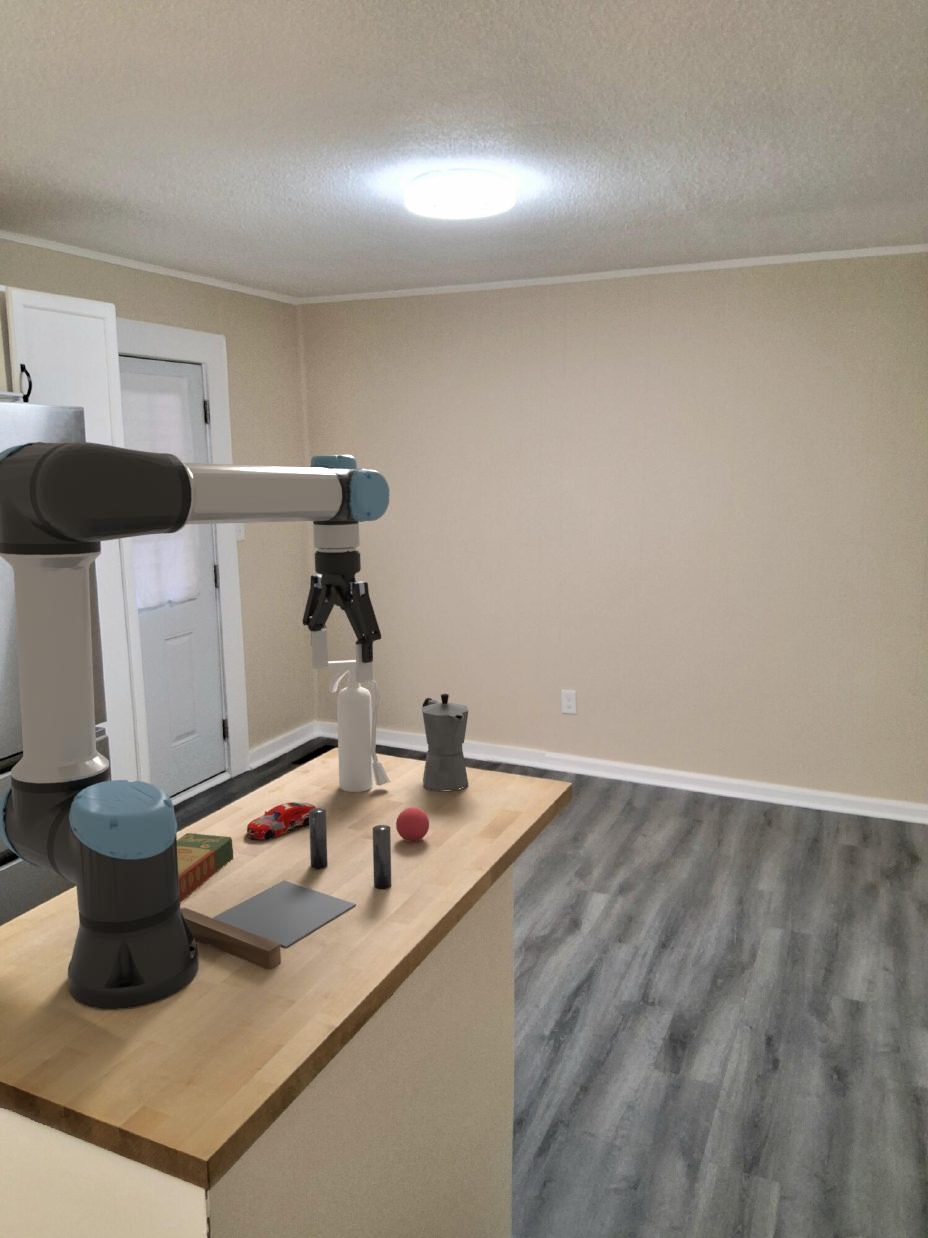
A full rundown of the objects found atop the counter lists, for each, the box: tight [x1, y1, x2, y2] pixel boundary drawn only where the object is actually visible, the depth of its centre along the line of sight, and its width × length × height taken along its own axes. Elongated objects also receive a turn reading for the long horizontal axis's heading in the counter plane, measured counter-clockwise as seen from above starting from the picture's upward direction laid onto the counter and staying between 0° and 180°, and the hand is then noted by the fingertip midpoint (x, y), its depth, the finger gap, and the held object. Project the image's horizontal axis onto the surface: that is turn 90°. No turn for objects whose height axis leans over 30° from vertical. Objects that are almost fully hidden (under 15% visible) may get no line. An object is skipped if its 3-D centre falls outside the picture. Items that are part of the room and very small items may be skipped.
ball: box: [395, 807, 430, 842], centre depth 156 cm, size 6×6×6 cm
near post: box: [372, 824, 392, 891], centre depth 139 cm, size 3×3×9 cm
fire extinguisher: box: [323, 659, 391, 793], centre depth 180 cm, size 7×12×25 cm, turn 69°
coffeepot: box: [421, 693, 469, 792], centre depth 183 cm, size 15×9×18 cm, turn 29°
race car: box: [246, 801, 317, 841], centre depth 162 cm, size 13×5×4 cm, turn 134°
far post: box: [308, 807, 329, 870], centre depth 146 cm, size 3×3×9 cm
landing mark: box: [212, 879, 357, 949], centre depth 132 cm, size 14×14×1 cm
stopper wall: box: [181, 907, 282, 970], centre depth 123 cm, size 2×18×2 cm, turn 56°
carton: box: [177, 832, 234, 903], centre depth 143 cm, size 8×16×4 cm, turn 165°
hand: (341, 674), depth 160 cm, fingers open, 13 cm apart
